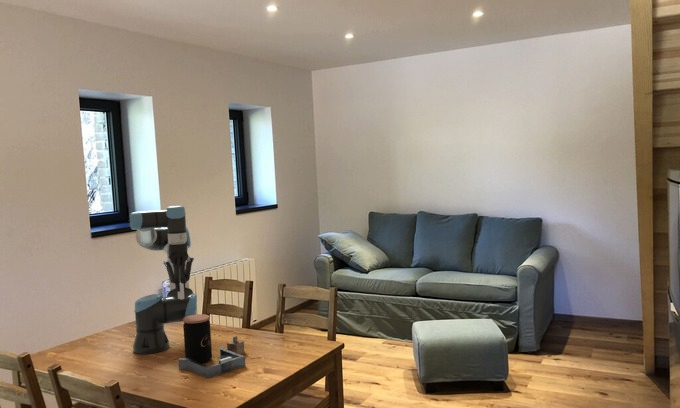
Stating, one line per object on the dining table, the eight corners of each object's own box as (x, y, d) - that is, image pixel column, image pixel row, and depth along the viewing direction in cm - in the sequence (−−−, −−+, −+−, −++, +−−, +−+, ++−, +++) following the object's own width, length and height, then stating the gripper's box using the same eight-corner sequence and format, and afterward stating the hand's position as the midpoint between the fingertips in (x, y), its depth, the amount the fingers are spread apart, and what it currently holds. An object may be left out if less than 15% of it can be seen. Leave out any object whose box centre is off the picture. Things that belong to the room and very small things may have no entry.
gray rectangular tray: (178, 368, 223) (177, 355, 222) (222, 355, 237) (222, 342, 237) (203, 380, 209) (202, 366, 209) (249, 364, 224) (248, 352, 224)
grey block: (227, 355, 237) (226, 337, 237) (234, 351, 242) (233, 334, 241) (237, 356, 235) (236, 338, 235) (244, 352, 240) (243, 335, 239)
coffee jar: (205, 365, 225) (202, 321, 224) (180, 365, 227) (177, 321, 226) (216, 356, 235) (214, 314, 234) (192, 356, 238) (190, 314, 236)
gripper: (167, 245, 229) (171, 303, 231) (196, 241, 238) (199, 296, 240) (158, 244, 234) (162, 300, 236) (187, 240, 243) (190, 294, 245)
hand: (181, 298), depth 238 cm, fingers closed
